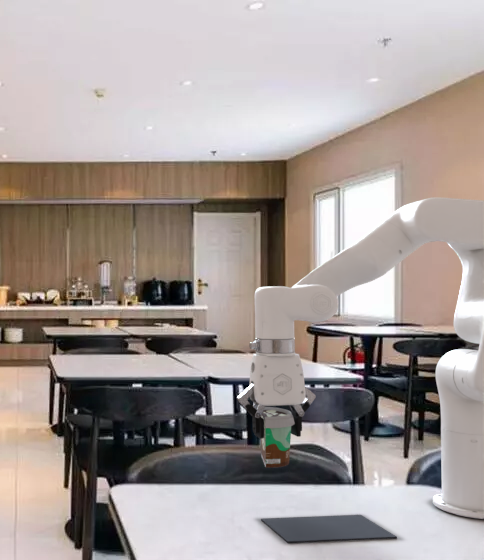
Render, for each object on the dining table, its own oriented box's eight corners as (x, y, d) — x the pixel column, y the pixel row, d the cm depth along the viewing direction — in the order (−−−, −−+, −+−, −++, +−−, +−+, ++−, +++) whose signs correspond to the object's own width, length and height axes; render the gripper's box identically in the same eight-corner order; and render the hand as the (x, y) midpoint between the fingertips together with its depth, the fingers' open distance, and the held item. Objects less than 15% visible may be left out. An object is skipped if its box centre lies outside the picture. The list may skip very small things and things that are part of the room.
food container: (300, 471, 118) (299, 418, 118) (266, 469, 119) (265, 417, 119) (290, 454, 130) (289, 406, 130) (260, 453, 131) (259, 405, 131)
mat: (360, 516, 119) (360, 514, 119) (397, 538, 108) (397, 536, 108) (260, 520, 117) (260, 518, 117) (287, 543, 106) (287, 541, 106)
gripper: (240, 350, 120) (243, 442, 120) (325, 347, 122) (328, 438, 122) (226, 347, 128) (229, 433, 127) (306, 344, 130) (309, 430, 129)
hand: (277, 435), depth 125 cm, fingers closed on food container, 7 cm apart
